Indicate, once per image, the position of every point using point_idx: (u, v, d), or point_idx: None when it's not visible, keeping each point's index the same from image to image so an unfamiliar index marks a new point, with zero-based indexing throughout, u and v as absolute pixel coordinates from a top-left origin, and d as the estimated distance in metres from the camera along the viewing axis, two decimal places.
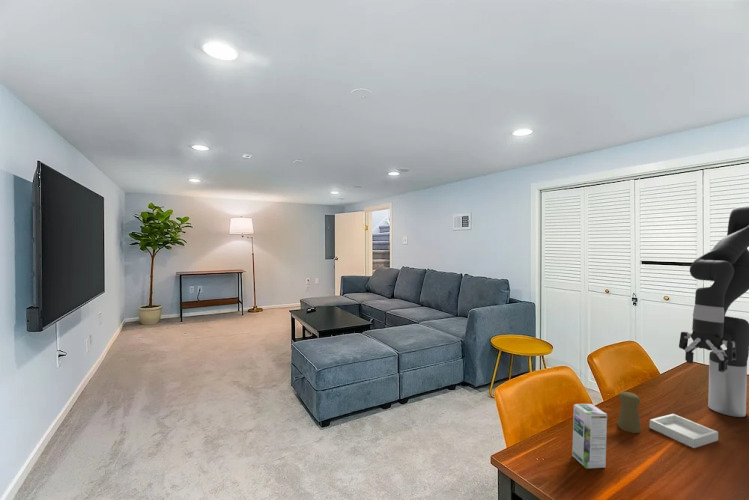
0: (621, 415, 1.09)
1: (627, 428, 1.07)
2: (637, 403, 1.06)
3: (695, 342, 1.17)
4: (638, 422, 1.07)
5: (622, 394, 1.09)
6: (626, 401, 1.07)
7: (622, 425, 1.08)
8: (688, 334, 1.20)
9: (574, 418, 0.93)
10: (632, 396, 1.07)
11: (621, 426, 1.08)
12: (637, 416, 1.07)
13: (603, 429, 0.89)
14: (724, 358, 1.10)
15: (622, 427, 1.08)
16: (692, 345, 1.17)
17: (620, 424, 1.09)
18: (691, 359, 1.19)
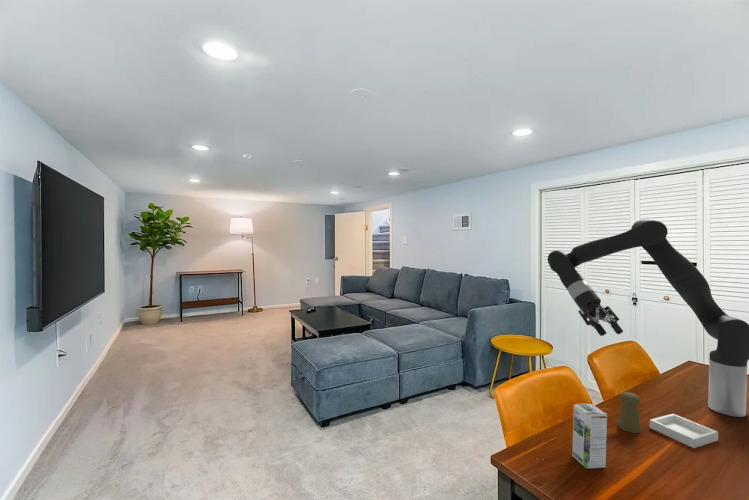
0: (621, 415, 1.09)
1: (627, 428, 1.07)
2: (637, 403, 1.06)
3: None
4: (638, 422, 1.07)
5: (622, 394, 1.09)
6: (626, 401, 1.07)
7: (622, 425, 1.08)
8: None
9: (574, 418, 0.93)
10: (632, 396, 1.07)
11: (621, 426, 1.08)
12: (637, 416, 1.07)
13: (603, 429, 0.89)
14: (591, 324, 1.19)
15: (622, 427, 1.08)
16: None
17: (620, 424, 1.09)
18: (617, 329, 1.20)
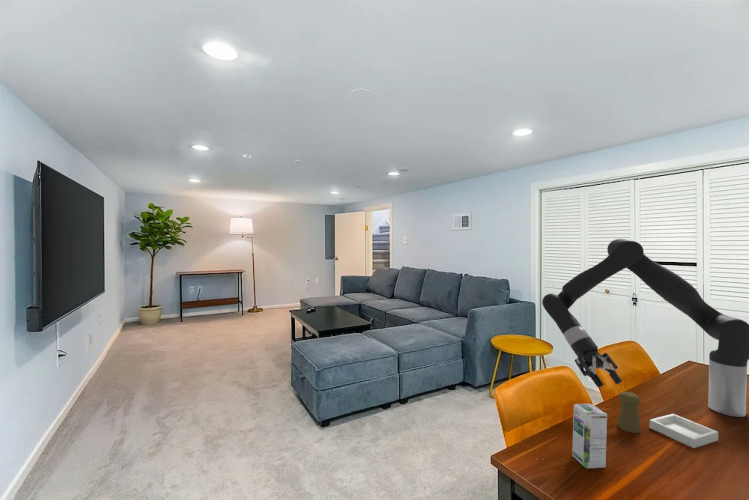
0: (621, 415, 1.09)
1: (627, 428, 1.07)
2: (637, 403, 1.06)
3: None
4: (638, 422, 1.07)
5: (622, 394, 1.09)
6: (626, 401, 1.07)
7: (622, 425, 1.08)
8: None
9: (574, 418, 0.93)
10: (632, 396, 1.07)
11: (621, 426, 1.08)
12: (637, 416, 1.07)
13: (603, 429, 0.89)
14: None
15: (622, 427, 1.08)
16: None
17: (620, 424, 1.09)
18: (615, 379, 1.17)
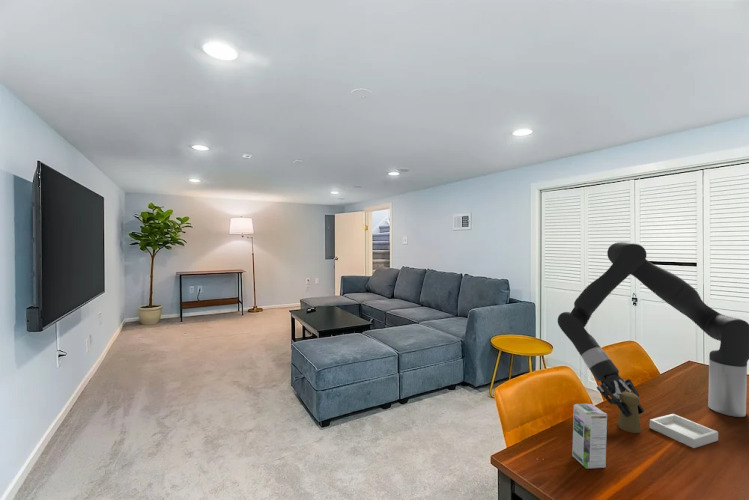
0: (621, 415, 1.09)
1: (627, 428, 1.07)
2: (637, 403, 1.06)
3: None
4: (638, 422, 1.07)
5: (622, 394, 1.09)
6: (626, 401, 1.07)
7: (622, 425, 1.08)
8: None
9: (574, 418, 0.93)
10: (632, 396, 1.07)
11: (621, 426, 1.08)
12: (637, 416, 1.07)
13: (603, 429, 0.89)
14: None
15: (622, 427, 1.08)
16: None
17: (620, 424, 1.09)
18: None
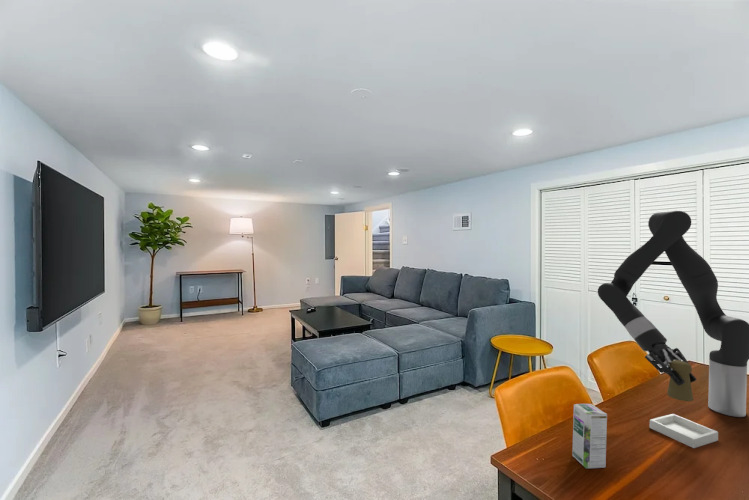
0: (671, 384, 1.06)
1: (679, 397, 1.04)
2: (689, 370, 1.03)
3: None
4: (690, 390, 1.03)
5: (672, 362, 1.06)
6: (678, 369, 1.04)
7: (674, 394, 1.05)
8: None
9: (574, 418, 0.93)
10: (683, 364, 1.04)
11: (672, 395, 1.05)
12: (689, 384, 1.03)
13: (603, 429, 0.89)
14: None
15: (673, 396, 1.05)
16: None
17: (671, 393, 1.05)
18: None
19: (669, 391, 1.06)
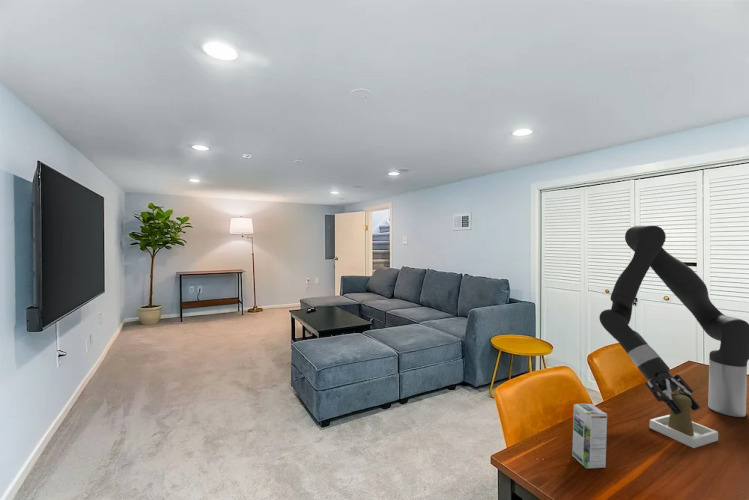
0: (672, 417, 1.06)
1: (679, 431, 1.04)
2: (689, 405, 1.03)
3: None
4: (691, 425, 1.04)
5: (672, 396, 1.06)
6: (678, 403, 1.04)
7: (674, 428, 1.05)
8: None
9: (574, 418, 0.93)
10: (683, 398, 1.04)
11: None
12: (689, 418, 1.04)
13: (603, 429, 0.89)
14: None
15: None
16: None
17: (671, 427, 1.06)
18: (692, 404, 1.06)
19: (670, 425, 1.07)
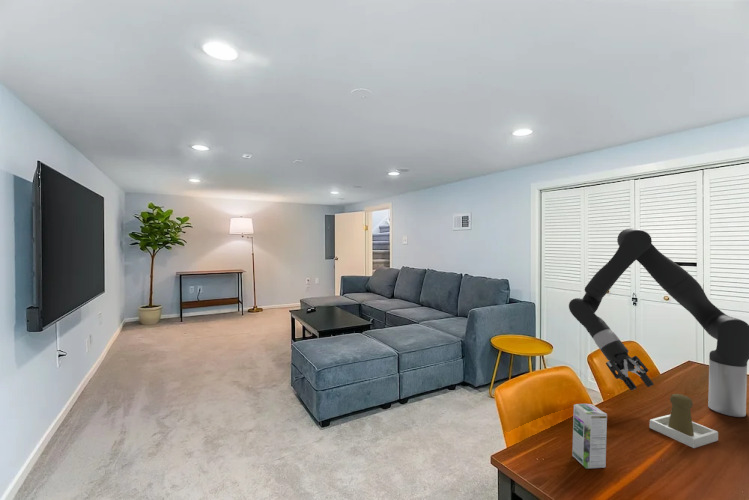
0: (672, 417, 1.06)
1: (679, 431, 1.04)
2: (690, 405, 1.03)
3: None
4: (691, 425, 1.04)
5: (673, 396, 1.06)
6: (679, 403, 1.04)
7: (674, 428, 1.05)
8: None
9: (574, 418, 0.93)
10: (684, 398, 1.04)
11: None
12: (690, 419, 1.04)
13: (603, 429, 0.89)
14: None
15: None
16: None
17: (671, 427, 1.06)
18: (647, 382, 1.18)
19: (670, 425, 1.07)
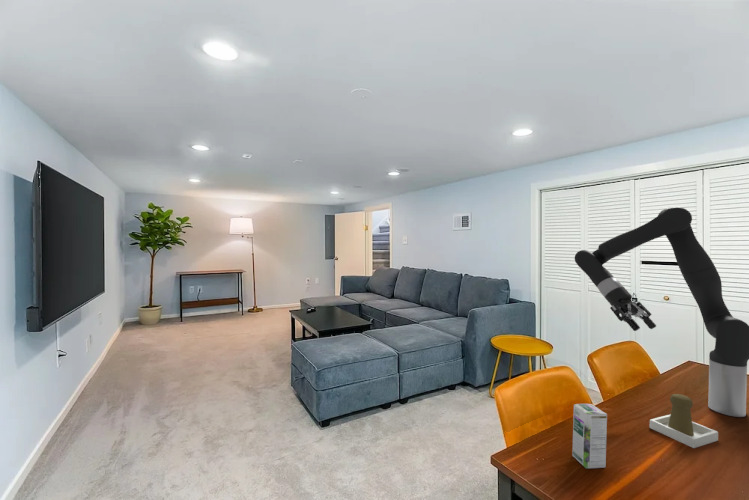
0: (672, 418, 1.06)
1: (679, 431, 1.04)
2: (690, 406, 1.03)
3: None
4: (691, 425, 1.04)
5: (673, 396, 1.06)
6: (679, 403, 1.04)
7: (674, 428, 1.05)
8: None
9: (574, 418, 0.93)
10: (684, 399, 1.04)
11: None
12: (690, 419, 1.04)
13: (603, 429, 0.89)
14: None
15: None
16: None
17: (671, 427, 1.06)
18: (650, 324, 1.23)
19: (670, 425, 1.07)
